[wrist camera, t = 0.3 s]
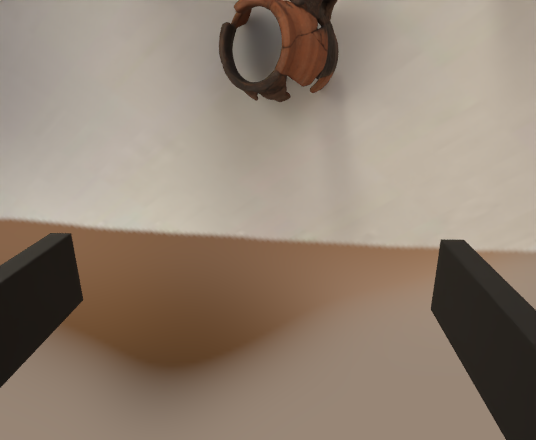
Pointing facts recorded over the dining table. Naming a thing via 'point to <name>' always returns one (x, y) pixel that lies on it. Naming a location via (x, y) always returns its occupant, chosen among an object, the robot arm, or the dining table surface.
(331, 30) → the pottery mug
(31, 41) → the dining table surface
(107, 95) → the dining table surface
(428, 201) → the dining table surface
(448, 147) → the dining table surface
